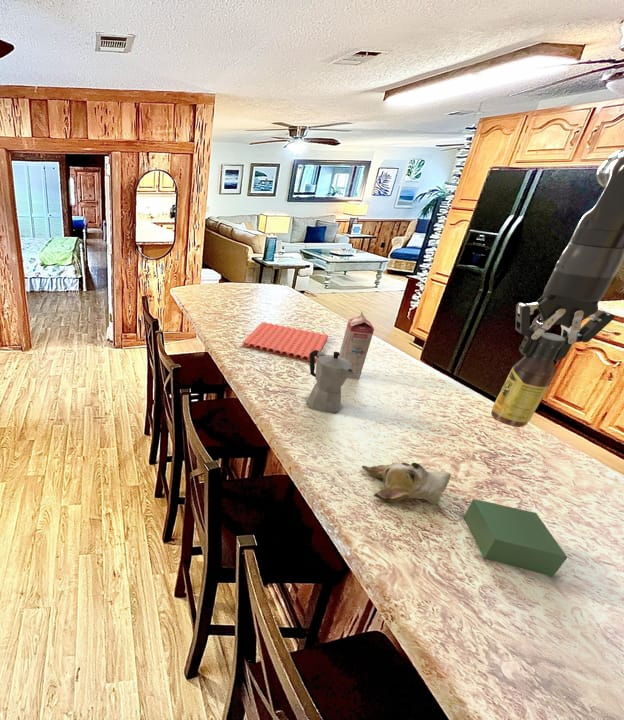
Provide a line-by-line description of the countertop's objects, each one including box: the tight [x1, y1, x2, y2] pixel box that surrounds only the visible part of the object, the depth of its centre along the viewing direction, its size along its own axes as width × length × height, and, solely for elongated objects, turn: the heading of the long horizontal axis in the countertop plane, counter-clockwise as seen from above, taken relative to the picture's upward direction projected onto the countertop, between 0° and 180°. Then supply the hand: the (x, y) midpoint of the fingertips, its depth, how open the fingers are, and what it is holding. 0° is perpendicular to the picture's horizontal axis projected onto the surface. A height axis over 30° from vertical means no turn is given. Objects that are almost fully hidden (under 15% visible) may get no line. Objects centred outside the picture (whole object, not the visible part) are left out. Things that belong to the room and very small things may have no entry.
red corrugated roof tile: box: [241, 321, 329, 364], centre depth 159 cm, size 28×28×2 cm
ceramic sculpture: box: [361, 462, 452, 505], centre depth 83 cm, size 11×9×15 cm
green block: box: [463, 498, 568, 577], centre depth 71 cm, size 10×10×6 cm
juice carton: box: [338, 311, 375, 380], centre depth 131 cm, size 7×7×22 cm
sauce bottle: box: [490, 332, 566, 428], centre depth 79 cm, size 6×6×20 cm
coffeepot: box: [306, 350, 355, 414], centre depth 113 cm, size 15×9×18 cm, turn 23°
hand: (539, 356), depth 76 cm, fingers closed on sauce bottle, 4 cm apart
